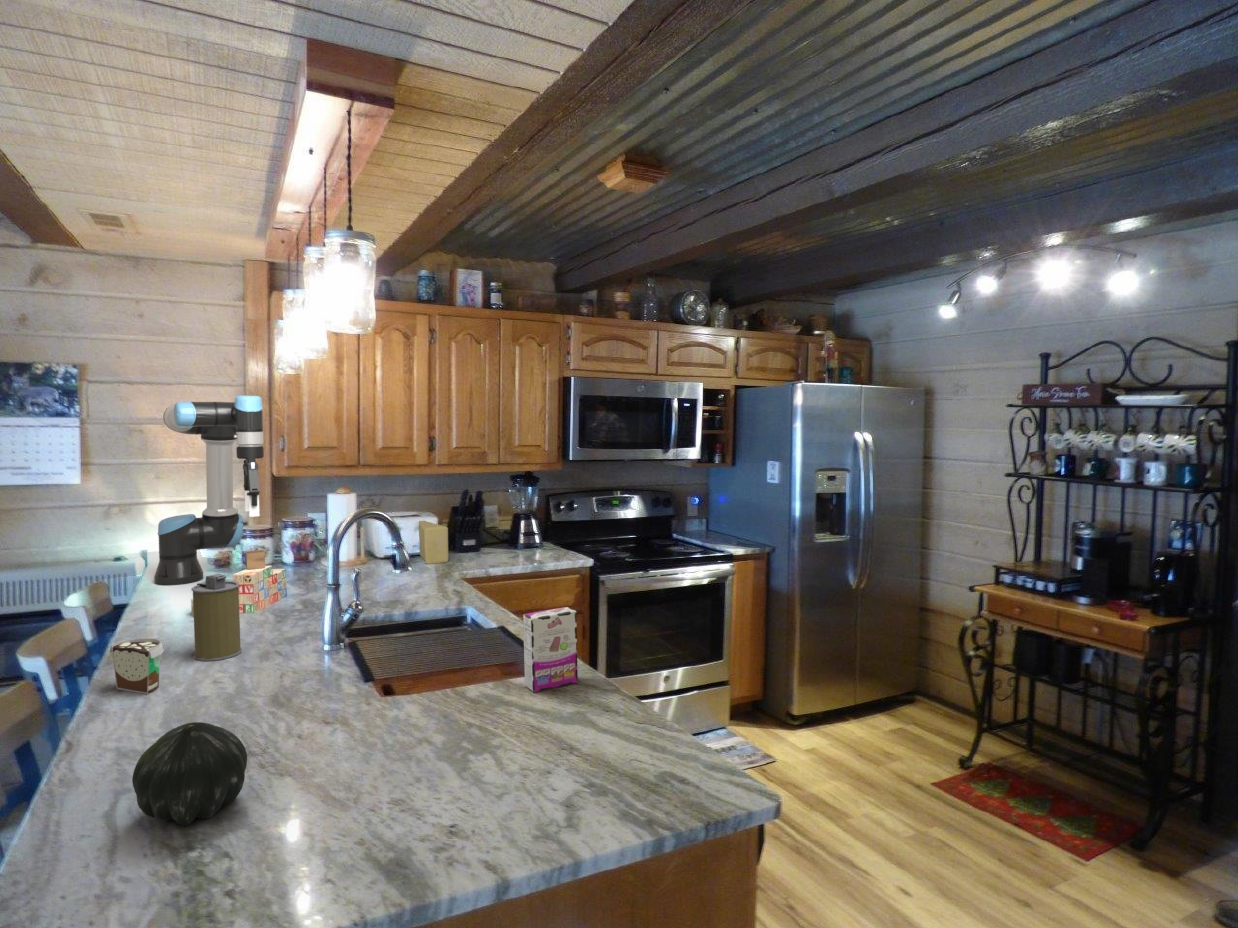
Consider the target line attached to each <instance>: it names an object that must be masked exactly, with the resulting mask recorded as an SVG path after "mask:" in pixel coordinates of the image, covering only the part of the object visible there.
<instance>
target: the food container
mask: <svg viewBox="0 0 1238 928" xmlns="http://www.w3.org/2000/svg"><path fill="white" fill-rule="evenodd" d="M110 644H111V645H110V646H109V647H110V650H109V653H111V656H112V662H113V663H112V665H113V670H114V671H113V672H114V678H115V687H116V689H117V690H121V691H127V692H133V693H138V694H139V693H140V694H145V695H149V694H151V693H153V692H156V691H157V690H158V689H159V684H160V666H161V655H162V654H163V653H164V651H165V650H164V646H163V643H162V642H161V640H160V639H157V638H153V637H152V638H151V637H149V638H148V637H147V638H146V637H143V638H142V637H141V638H133V639H132V638H131V639H126V640H120V641H116V642H112V643H110Z"/></svg>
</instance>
